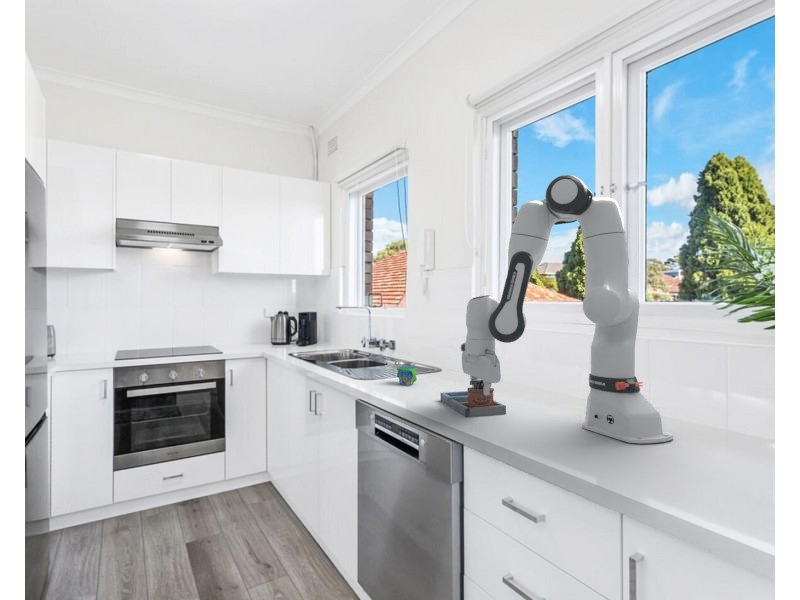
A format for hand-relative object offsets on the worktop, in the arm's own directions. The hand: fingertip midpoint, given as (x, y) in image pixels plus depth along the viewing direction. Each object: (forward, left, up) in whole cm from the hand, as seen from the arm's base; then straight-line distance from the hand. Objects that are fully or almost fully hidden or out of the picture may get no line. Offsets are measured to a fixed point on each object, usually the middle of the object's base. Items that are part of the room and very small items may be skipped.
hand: (480, 392), depth 140 cm
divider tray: (+7, 0, -6) cm, 9 cm away
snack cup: (+48, +10, -6) cm, 49 cm away
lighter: (0, 0, -6) cm, 6 cm away
